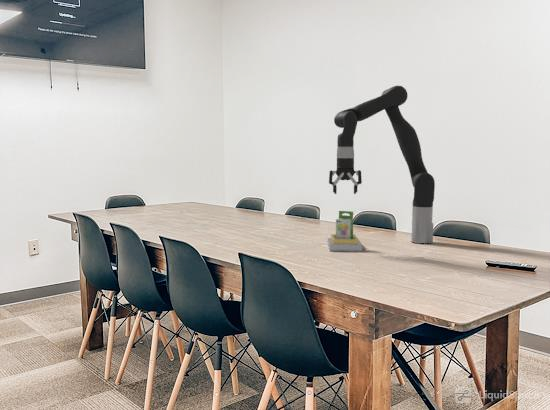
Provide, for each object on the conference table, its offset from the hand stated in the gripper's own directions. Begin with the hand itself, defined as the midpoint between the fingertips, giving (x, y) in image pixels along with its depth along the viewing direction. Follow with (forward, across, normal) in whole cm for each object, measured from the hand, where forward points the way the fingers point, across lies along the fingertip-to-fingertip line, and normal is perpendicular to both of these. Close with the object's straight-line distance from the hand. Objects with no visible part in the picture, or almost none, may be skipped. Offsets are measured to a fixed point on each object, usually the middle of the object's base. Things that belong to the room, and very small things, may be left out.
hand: (345, 193), depth 239 cm
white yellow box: (+24, 0, 0) cm, 24 cm away
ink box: (+22, 0, 0) cm, 22 cm away
